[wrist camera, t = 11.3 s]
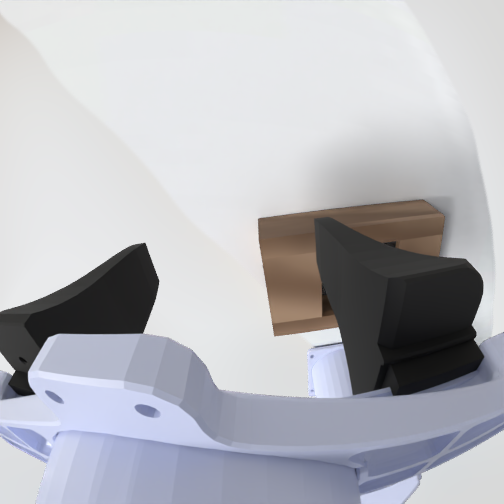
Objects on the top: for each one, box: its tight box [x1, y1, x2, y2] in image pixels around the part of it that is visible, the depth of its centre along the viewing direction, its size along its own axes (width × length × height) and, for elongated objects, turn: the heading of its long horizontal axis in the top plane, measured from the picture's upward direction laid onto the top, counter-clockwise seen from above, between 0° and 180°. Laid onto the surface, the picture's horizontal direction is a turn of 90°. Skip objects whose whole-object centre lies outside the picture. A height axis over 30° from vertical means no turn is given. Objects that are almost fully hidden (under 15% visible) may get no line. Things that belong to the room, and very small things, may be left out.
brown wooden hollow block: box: [258, 200, 445, 336], centre depth 22 cm, size 9×14×4 cm, turn 99°
